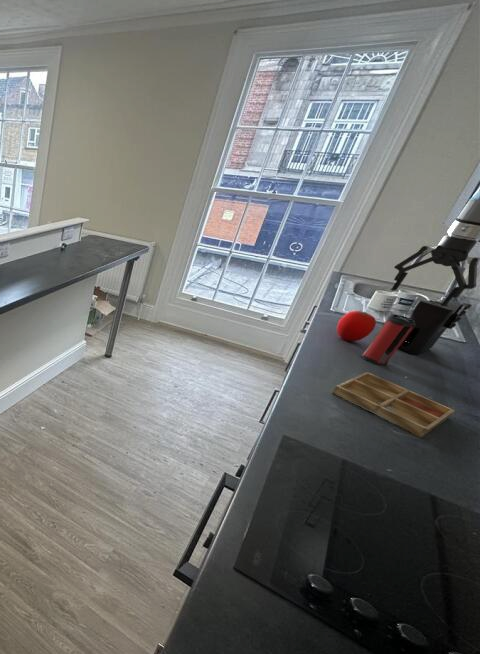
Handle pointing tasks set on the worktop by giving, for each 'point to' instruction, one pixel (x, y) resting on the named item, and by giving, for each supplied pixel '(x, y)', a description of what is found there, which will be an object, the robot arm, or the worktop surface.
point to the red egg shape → (355, 325)
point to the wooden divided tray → (394, 403)
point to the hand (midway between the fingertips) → (417, 297)
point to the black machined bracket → (431, 324)
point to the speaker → (388, 339)
